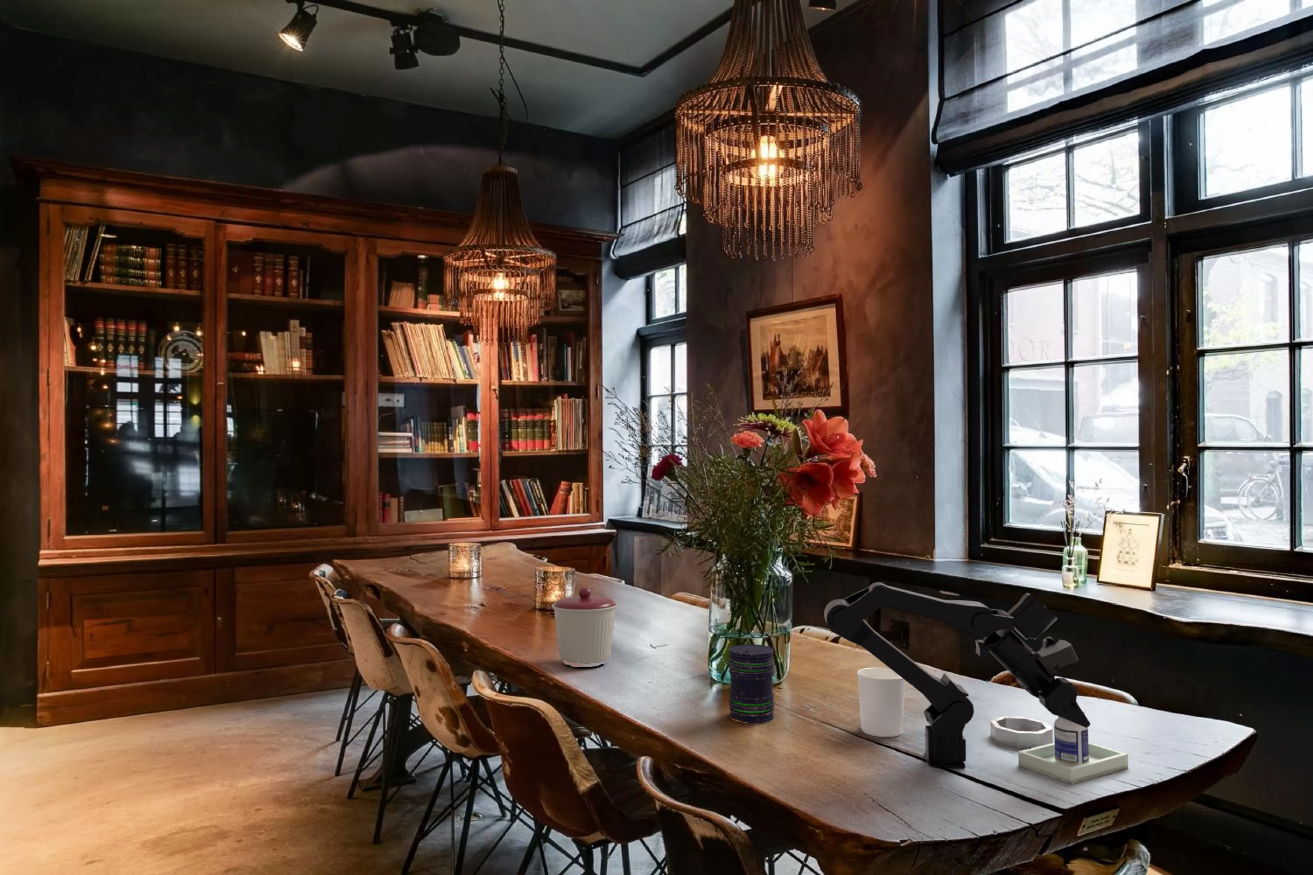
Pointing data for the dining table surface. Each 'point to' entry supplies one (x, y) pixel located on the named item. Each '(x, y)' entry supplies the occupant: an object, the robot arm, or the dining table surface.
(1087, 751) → the pill bottle
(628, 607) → the dining table surface
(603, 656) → the canister
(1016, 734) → the steel collar
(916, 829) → the dining table surface
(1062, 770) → the sage tray
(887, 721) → the candle holder
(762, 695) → the storage jar
